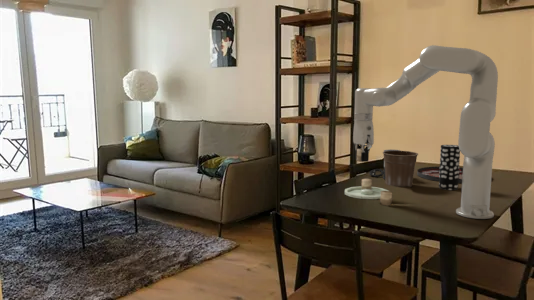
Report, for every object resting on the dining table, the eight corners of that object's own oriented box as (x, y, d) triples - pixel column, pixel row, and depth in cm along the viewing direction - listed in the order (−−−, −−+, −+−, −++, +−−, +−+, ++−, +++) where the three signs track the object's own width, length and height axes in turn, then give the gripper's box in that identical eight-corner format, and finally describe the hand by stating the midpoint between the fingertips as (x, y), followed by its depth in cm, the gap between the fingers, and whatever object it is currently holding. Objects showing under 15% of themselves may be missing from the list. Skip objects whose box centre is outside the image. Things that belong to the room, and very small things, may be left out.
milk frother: (402, 180, 220) (403, 152, 218) (370, 180, 223) (371, 151, 221) (398, 175, 234) (399, 148, 232) (369, 174, 236) (369, 147, 234)
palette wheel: (417, 181, 219) (417, 176, 219) (416, 169, 252) (417, 165, 252) (494, 185, 208) (494, 180, 208) (483, 172, 241) (483, 168, 241)
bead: (371, 192, 192) (372, 181, 191) (361, 191, 193) (361, 180, 192) (371, 189, 196) (371, 179, 195) (361, 189, 197) (361, 178, 196)
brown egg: (392, 205, 173) (393, 193, 172) (381, 205, 173) (381, 193, 173) (390, 202, 177) (391, 190, 177) (379, 202, 178) (380, 190, 177)
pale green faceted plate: (391, 202, 178) (391, 196, 178) (344, 200, 182) (344, 194, 181) (387, 191, 197) (387, 186, 196) (344, 190, 200) (345, 184, 200)
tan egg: (368, 161, 183) (369, 149, 182) (359, 162, 182) (360, 150, 181) (363, 159, 187) (364, 148, 187) (354, 160, 186) (355, 148, 185)
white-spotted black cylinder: (459, 190, 198) (462, 147, 195) (440, 189, 199) (442, 146, 197) (455, 186, 206) (458, 144, 203) (437, 185, 207) (439, 144, 205)
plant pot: (423, 185, 208) (424, 152, 206) (405, 191, 197) (406, 156, 195) (393, 180, 220) (394, 149, 218) (375, 185, 209) (375, 152, 207)
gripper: (382, 119, 175) (380, 163, 178) (361, 116, 191) (359, 157, 194) (365, 119, 173) (363, 164, 176) (346, 116, 189) (344, 157, 191)
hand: (361, 160), depth 185 cm, fingers closed on tan egg, 4 cm apart
